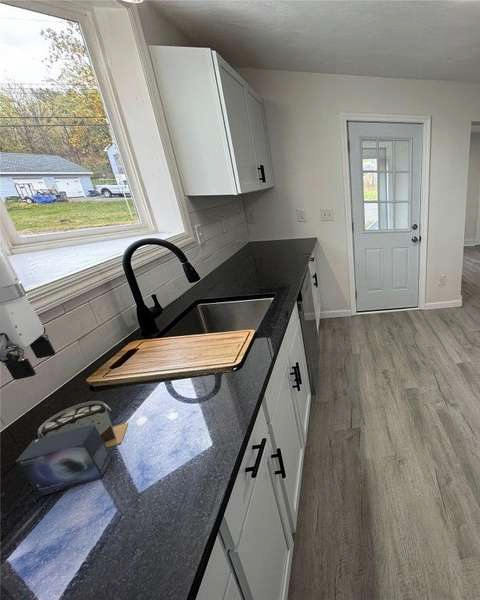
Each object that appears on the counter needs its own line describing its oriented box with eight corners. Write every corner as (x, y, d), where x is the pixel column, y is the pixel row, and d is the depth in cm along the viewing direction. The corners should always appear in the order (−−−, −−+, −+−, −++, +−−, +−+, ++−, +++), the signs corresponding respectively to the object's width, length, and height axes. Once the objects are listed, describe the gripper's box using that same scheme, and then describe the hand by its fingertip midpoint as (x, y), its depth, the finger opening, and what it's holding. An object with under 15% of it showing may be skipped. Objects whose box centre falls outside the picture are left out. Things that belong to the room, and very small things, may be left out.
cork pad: (50, 467, 72) (49, 466, 72) (63, 444, 79) (63, 443, 78) (121, 443, 78) (120, 442, 78) (128, 423, 84) (127, 422, 84)
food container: (122, 423, 84) (107, 392, 80) (123, 435, 80) (107, 404, 76) (58, 450, 76) (38, 418, 73) (55, 465, 72) (34, 432, 68)
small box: (38, 499, 65) (12, 462, 61) (56, 474, 70) (32, 439, 66) (102, 479, 68) (81, 442, 64) (114, 456, 74) (95, 422, 70)
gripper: (-4, 287, 70) (32, 353, 76) (-62, 313, 55) (-11, 393, 62) (42, 281, 73) (73, 345, 79) (-1, 304, 59) (41, 380, 65)
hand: (36, 366), depth 70 cm, fingers open, 9 cm apart
